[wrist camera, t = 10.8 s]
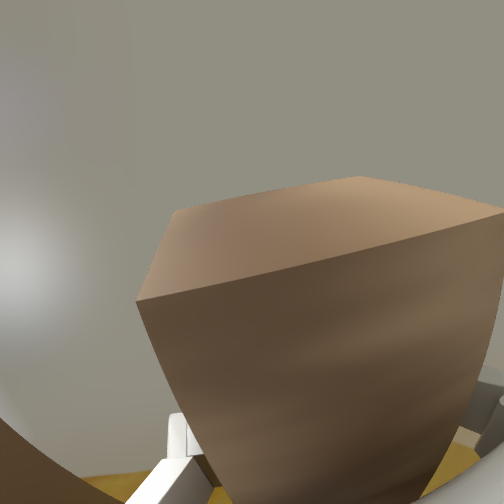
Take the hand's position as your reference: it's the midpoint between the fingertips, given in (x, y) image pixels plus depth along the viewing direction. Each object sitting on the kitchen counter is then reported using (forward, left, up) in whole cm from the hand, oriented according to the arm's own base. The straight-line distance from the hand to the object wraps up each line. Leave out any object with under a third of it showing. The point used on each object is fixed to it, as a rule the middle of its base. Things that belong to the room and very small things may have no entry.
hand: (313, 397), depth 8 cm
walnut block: (0, +1, -6) cm, 6 cm away
